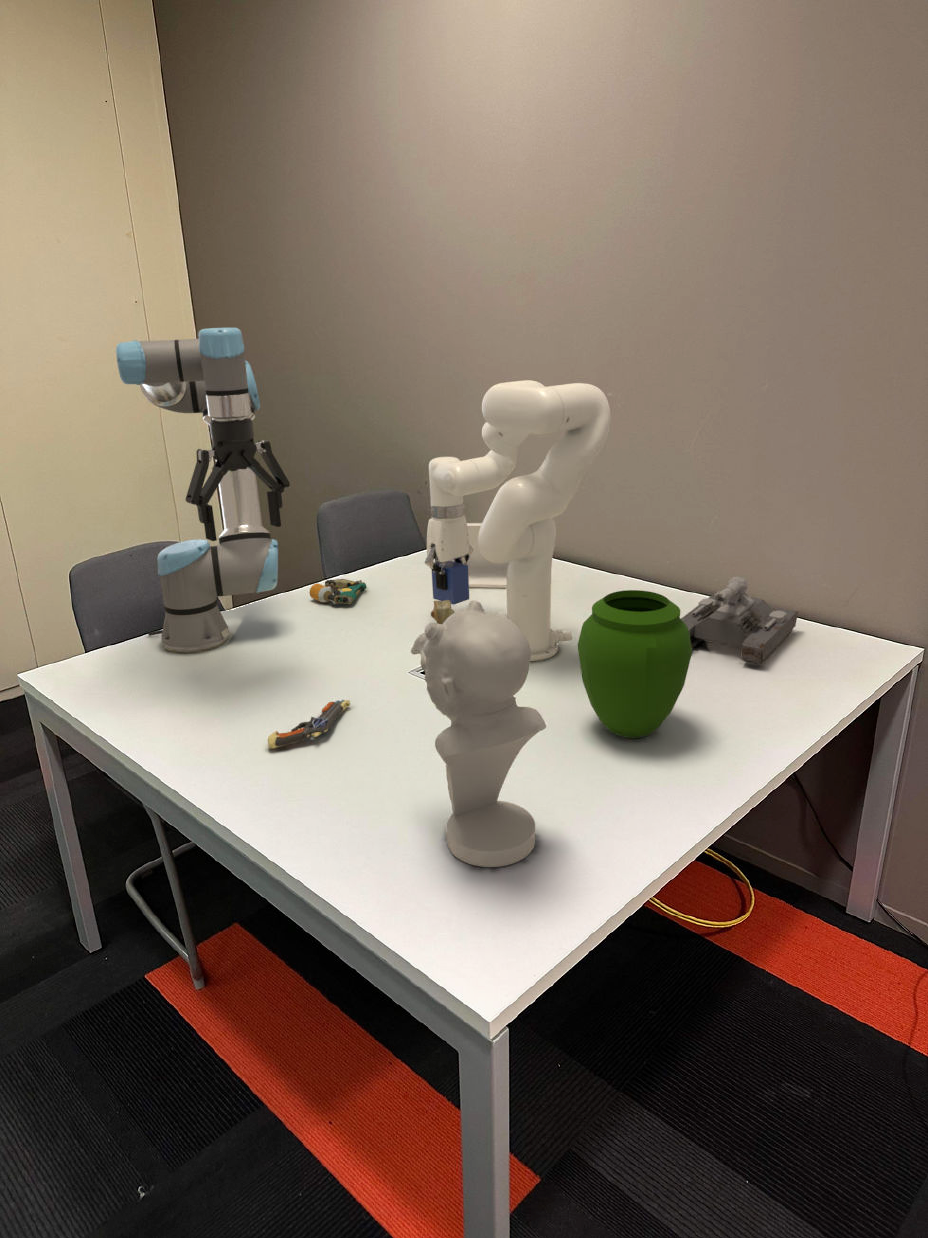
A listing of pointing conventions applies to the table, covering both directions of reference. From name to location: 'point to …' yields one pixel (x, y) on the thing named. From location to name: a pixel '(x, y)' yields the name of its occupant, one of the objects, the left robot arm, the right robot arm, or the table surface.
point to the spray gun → (337, 591)
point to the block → (453, 583)
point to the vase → (634, 660)
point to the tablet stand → (483, 564)
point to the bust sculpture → (481, 729)
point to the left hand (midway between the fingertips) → (244, 532)
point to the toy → (740, 622)
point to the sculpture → (441, 611)
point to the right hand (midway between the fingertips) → (450, 585)
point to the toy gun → (309, 726)
